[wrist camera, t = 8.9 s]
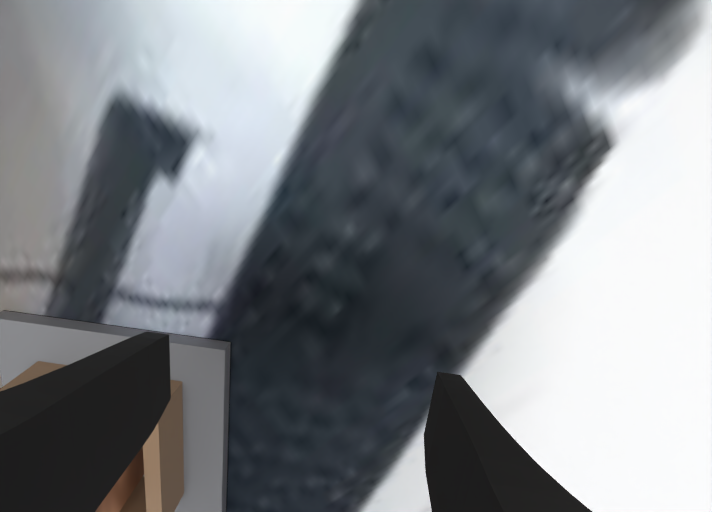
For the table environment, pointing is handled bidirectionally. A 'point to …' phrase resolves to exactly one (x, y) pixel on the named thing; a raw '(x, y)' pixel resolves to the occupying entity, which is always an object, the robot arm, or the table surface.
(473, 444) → the robot arm
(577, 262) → the table surface
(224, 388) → the dock
